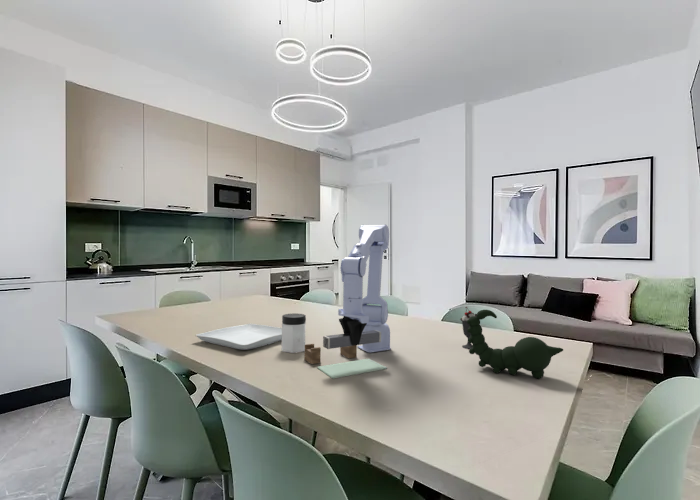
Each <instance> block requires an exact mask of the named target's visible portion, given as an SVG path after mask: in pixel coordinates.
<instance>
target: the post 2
mask: <svg viewBox="0 0 700 500" xmlns="http://www.w3.org/2000/svg"><path fill="white" fill-rule="evenodd" d="M339 349H340V353H339V354H340V355H342V356H343V357H345V358H347V359H354V358H357V356H358V355H357V354H358V353H357V352H358V351H357V349H358V345H354V346H347V347H340V348H339Z"/></svg>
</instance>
